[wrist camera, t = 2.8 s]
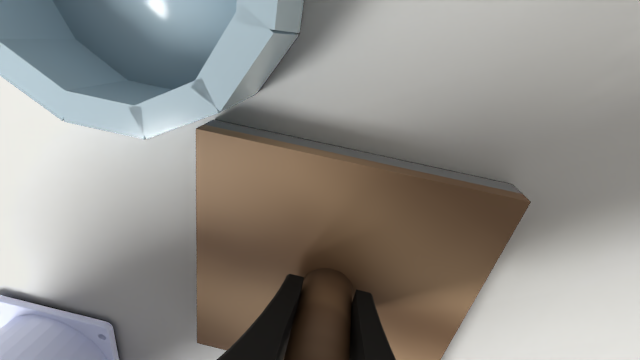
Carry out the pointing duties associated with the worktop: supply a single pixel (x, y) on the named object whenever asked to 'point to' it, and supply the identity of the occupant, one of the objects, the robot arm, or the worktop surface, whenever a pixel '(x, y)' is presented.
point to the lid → (339, 244)
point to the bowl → (143, 57)
